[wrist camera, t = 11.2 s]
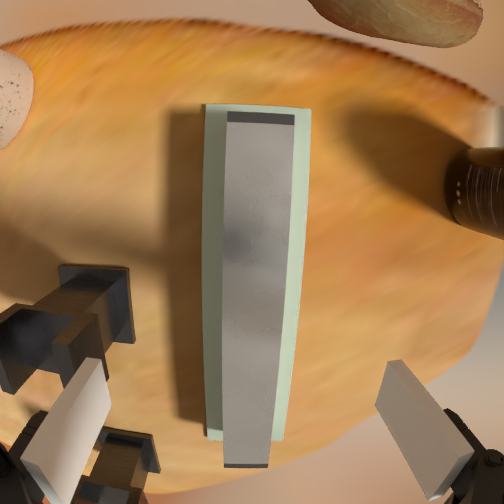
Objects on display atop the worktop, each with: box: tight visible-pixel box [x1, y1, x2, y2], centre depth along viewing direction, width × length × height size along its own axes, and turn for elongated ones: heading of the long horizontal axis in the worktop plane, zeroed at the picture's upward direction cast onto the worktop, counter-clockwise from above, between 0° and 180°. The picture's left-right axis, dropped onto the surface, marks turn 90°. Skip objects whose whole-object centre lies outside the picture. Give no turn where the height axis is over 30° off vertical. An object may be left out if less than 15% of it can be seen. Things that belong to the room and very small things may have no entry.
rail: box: [222, 111, 295, 468], centre depth 21 cm, size 4×25×4 cm, turn 178°
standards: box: [0, 265, 161, 504], centre depth 20 cm, size 6×23×10 cm, turn 178°
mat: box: [202, 104, 311, 441], centre depth 23 cm, size 7×28×1 cm, turn 178°
